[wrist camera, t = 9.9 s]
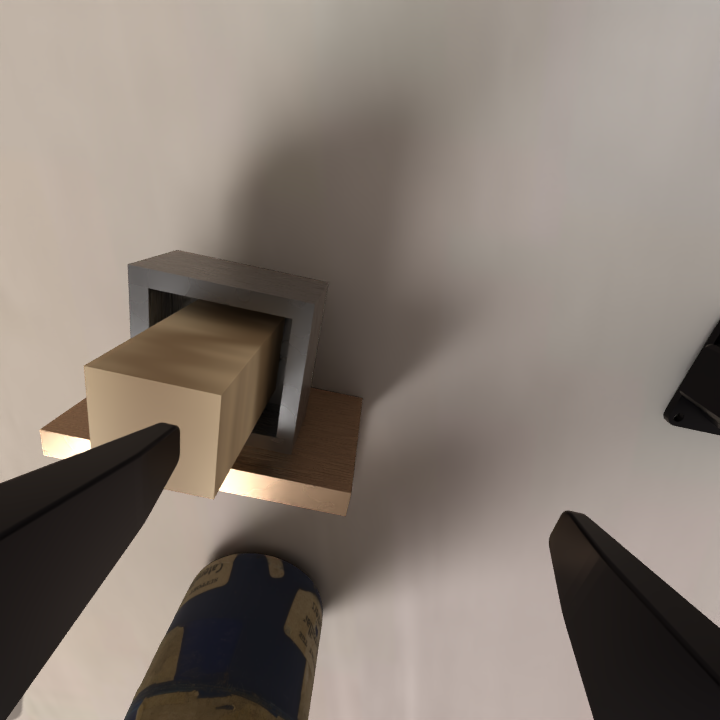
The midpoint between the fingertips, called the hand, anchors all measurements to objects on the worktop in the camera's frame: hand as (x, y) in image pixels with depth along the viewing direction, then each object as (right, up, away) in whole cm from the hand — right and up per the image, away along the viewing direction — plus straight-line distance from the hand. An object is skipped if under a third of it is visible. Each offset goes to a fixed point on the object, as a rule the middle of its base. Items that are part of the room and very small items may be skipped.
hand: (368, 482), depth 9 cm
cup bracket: (-6, +2, +13) cm, 14 cm away
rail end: (-5, +3, +8) cm, 10 cm away
